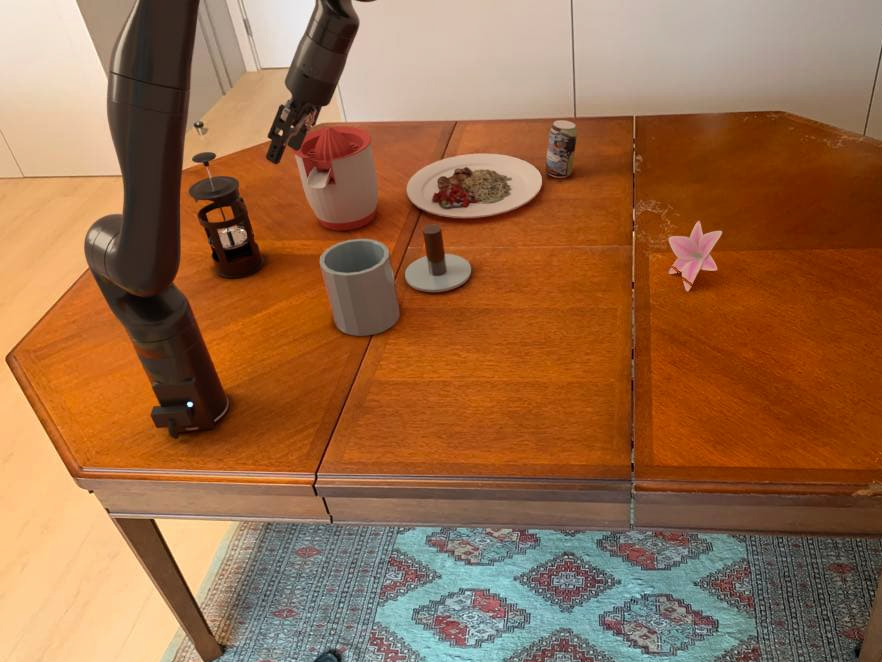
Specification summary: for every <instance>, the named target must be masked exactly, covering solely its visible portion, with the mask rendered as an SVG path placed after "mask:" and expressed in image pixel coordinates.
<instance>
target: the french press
mask: <svg viewBox="0 0 882 662" xmlns="http://www.w3.org/2000/svg"><path fill="white" fill-rule="evenodd" d="M216 158H217V153H215V152H212V151H204V152H200V153H197V154H195V155H193V156H192V158H191V161H192V162H193V163H195V164H196V163H197V164H203V166H204V168H206V172H207V173H208V176H209V177H207V178H204V179H201V180H199V181H197V182H195V183H194V184H192V185H190V186H191V187H189V188H188V194H189V196H190V197H191V198H192V199H193V201H194V203H195V204H197V203H198V201H209V202H210V203H208V204H207V205H205V206H203V207H201V208H200V209H199V211H198V212H197V213H196V214H197V215H196V217H197V220H198V222H199V225H200V226H201V227H202V228H203V229H204V232H205V235H206V237H207V243H208V245H209V246H210V249H211V251H212V252H211V259H212V262H213V264H214V271H215V274H217V276H219V277H221V278H223V279H231V280H232V279H234V280H235V279H242V278H245V277H248V276H252V275H254V274H256V273H257V272H258V271H260V270H261V269H262V268H263V266H264V264H265V259H264V257H263V255H262V253H261V250H260V247H259V244H258V243H257V242H256V240H255V233H254V231H253V227H252V224H251V220H250V218H249V217H250V216H249V211H248V207H247V205H246V203H245V200H244V197H242V196H240V190H239V187H240V182H239V180H238V179H237V178H235V177H233V176H227V175H219V176H218V175H217V176H212V174H211V171H210V168H209V167H210V162H211V161H214V160H215V159H216ZM226 207H228V208H229V207H230V209H231V212H232V215H233V218H231V219H226V216H225V213H224V210H223V208H226ZM217 209H219V210H220V214H221V217H222V219H223V221H215V222H213V221H209V218H208V216H207V214H208V213H210V212H212V211H214V210H217ZM241 256H242V257H243V256H247V258H245V259H242V260H240V261H235V262H229V260H231V259H233V258H236V257H241ZM248 256H249V257H248Z"/></svg>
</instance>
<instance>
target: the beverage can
mask: <svg viewBox="0 0 882 662" xmlns="http://www.w3.org/2000/svg"><path fill="white" fill-rule="evenodd" d="M576 126H577V125H576V123H574V122H572V121H571V120H570V121H569V120H566V119H565V120H564V119H557V120H555V121H553V124H552V125H551V126H550V128H549V135H548V142H547V143H548V144H547V151H546V158H545V159H546V160H545V168H544V170H545V172H546V173H547V174H548V175H549V176H550V177H552V178H557V179H564V178H567V177H568V176H571V174H572V172H573V165H574V159H575V151H576V145H577V138H578V130H577V127H576Z"/></svg>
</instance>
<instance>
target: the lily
mask: <svg viewBox="0 0 882 662" xmlns="http://www.w3.org/2000/svg"><path fill="white" fill-rule="evenodd" d="M722 235H723V230H713V231H710V232H707V233H703V228H702V224H701V221H700V220H697V221H696V223H695V224H694V227H693V228H692V230H691V233H690V235H689V236H684V235H672V236H669V237H668V243H669V246H670V248H671V250H672V252H673V253H674V255H675V256H676V259H675V261H674V262H673V264H672V265H671V267H672V266H674V267H676V268H677V269H678V270H679V271H680V272H681V278H682V277H684V278H686V279H687V280H688V281H689V282H691V283H692V285H693V284H694V281H695V280H696V277H697V275H698V274H699V271H700V270H702V271H708V272H709V271H712V272H713V271H718V267H717V265H716V262H715V261H714V258H713V257H712V255H711V254H710V253H711V251H712V250H713V248H714V247H715V245H716V244H717V242H718V241H719V239H720V238H721V236H722ZM671 267H670V268H669V270H668V274H669V275H673V274H677V272H676V271H675V270H674V269H673V268H671ZM680 272H679V273H680ZM682 283H683V286H684V289H685V291H686V292H689V291H690V289H691V288H692V286H690V285H689V284H688V283H686V282H685V281H683V280H682Z"/></svg>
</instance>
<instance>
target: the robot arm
mask: <svg viewBox="0 0 882 662" xmlns="http://www.w3.org/2000/svg"><path fill="white" fill-rule="evenodd" d="M352 1H353V0H315V2H314V3H315V4H314V7H313V10H312V12H311V15H310V18H309V20H308V23H307V26H306V28H305V31H304V33H303V35H302V37H301V38H300V40H299V42H298V45H297V47H296V50H295V53H294V55H293V57H292V60H291V63H290V66H289V68H288V70H287V74H286V76H285V79H284V85H285V87H286V89H287V90H288V91H289V92H290V94H291V97H290V98H289V99H287V100H286V102H285V103H284V104H282V103H281V104H280V105H279V106H278V108H277V112H276V114H275V116H274V119H273V122H272V125H271V126H270V129H269V131H268V133H267V139H269V140H271V141H270V144H269V147H268V150H267V152H266V155H265V159H266V160H267V161H268V162H270V163H272V164H274V165H278V164H280V163H281V160H282V157H283V155H284V152H285V150H286V148H287V146H288V147H289V148H291V149H294V150H296V151H298V150H300V148H301V146H302V143H303V141H304V139H305V136H306V134H307V133H309V132H311V129H312V127H314V126H316V124H317V122H318V118H319V116H320V113H321V110H322V108H323V107H327V106H328V105H330V103H331V101H332V99H333V97H334V94H335V91H336V89H337V87H338V84H339V82H340V79H341V77H342V75H343V72H344V70H345V67H346V64H347V59H348V57H349V54H350V50H351V49H352V46H353V44H354V41H355V38H356V37H357V35H358V32H359V29H360V25H361V22H360V21H361V20H360V18H359V15H358V13H357V12H356V11H357V10H355V8H354V6H353V2H352ZM355 1H356V2H359V3H372V2H376V1H377V0H355ZM200 3H201V0H134V2H133V5H132V7H131V10H130V11H129V13H128V15H127V17H126V19H125V21H124V23H123V24H122V26H121V28H120V30H119V32H118V35H117V37H116V38H115V41H114V44H113V46H112V49H111V53H110V57H109V63H108V72H107V88H106V117H107V123H108V129H109V132H110V137H111V140H112V144H113V147H114V150H115V154H116V157H117V161H118V164H119V170H120V173H121V180H122V185H123V187H122V188H123V201H122V212H121V213H111V214H106V215H104V216H101V217H100V218H98V219H96V220H95V221H94V222H93V223H92V224H91V225H90V227H89V228H88V230H87V231H86V234H85V237H84V242H83V252H84V257H85V261H86V264H87V266H88V269H89V271H90V274H91V275H92V276H93V279H94V281H95V283H96V285H97V286H98V289H99V290H100V292H101V294H102V297H103V298H104V300H105V302H106V304H107V306H108V307H109V309H110V311H111V312H112V313H113V315H114V316H115V318H116V319H117V320H118V321H119V322H120V324H121V325H122V327H123V328H124V330H125V332H126V334H127V336H128V338H129V340H130V342H131V345H132V347H133V349H134V351H135V353H136V355H137V357H138V360H139V362H140V364H141V366H142V368H143V370H144V372H145V374H146V377H147V378H148V380H149V381H148V382H149V383H150V386H151V390H152V391H153V393H154V395H155V398H156V400H157V402H158V404H159V405H154V406H152V408H151V412H150V414H149V415H150V418H151V420H152V422H153V424H154V426H155V428H156V429H165V428H167V429H168V430H167V431H168V434H169V436H170V437H171V438H172V439H174V440H178V439H180V435H179V434H180V433H188V432H196V431H206V430H212V429H215V425H216V424H217V423H219V422H220V421H221V420H222V419H223V418H224V417H225V416H226V415H227V413H228V412H229V409H230V400H229V397H228V396H227V394H226V392H225V390H224V387H223V385H222V382H221V380H220V377H219V374H218V371H217V369H216V367H215V364H214V361H213V359H212V357H211V354H210V351H209V349H208V345H207V344H206V342H205V339H204V336H203V334H202V331H201V329H200V326H199V324H198V321H197V318H196V316H195V313H194V311H193V309H192V305H191V304H190V301H189V299H188V298H187V297H186V295H185V294H184V293H183V292H182V291H181V290H180V289H179V287H178V286H177V285H176V284H175V283H174V281H175V279H176V278H177V275H178V273H179V270H180V264H181V256H182V255H181V253H182V252H181V251H182V248H181V247H182V241H181V239H182V237H181V236H182V235H181V190H182V180H183V179H182V178H183V167H184V156H185V155H184V153H185V142H186V132H187V127H188V121H189V120H188V119H189V110H190V100H191V89H192V76H193V75H192V74H193V61H194V52H195V44H196V35H197V26H198V18H199V9H200ZM281 131H282V134H280V133H281Z"/></svg>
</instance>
